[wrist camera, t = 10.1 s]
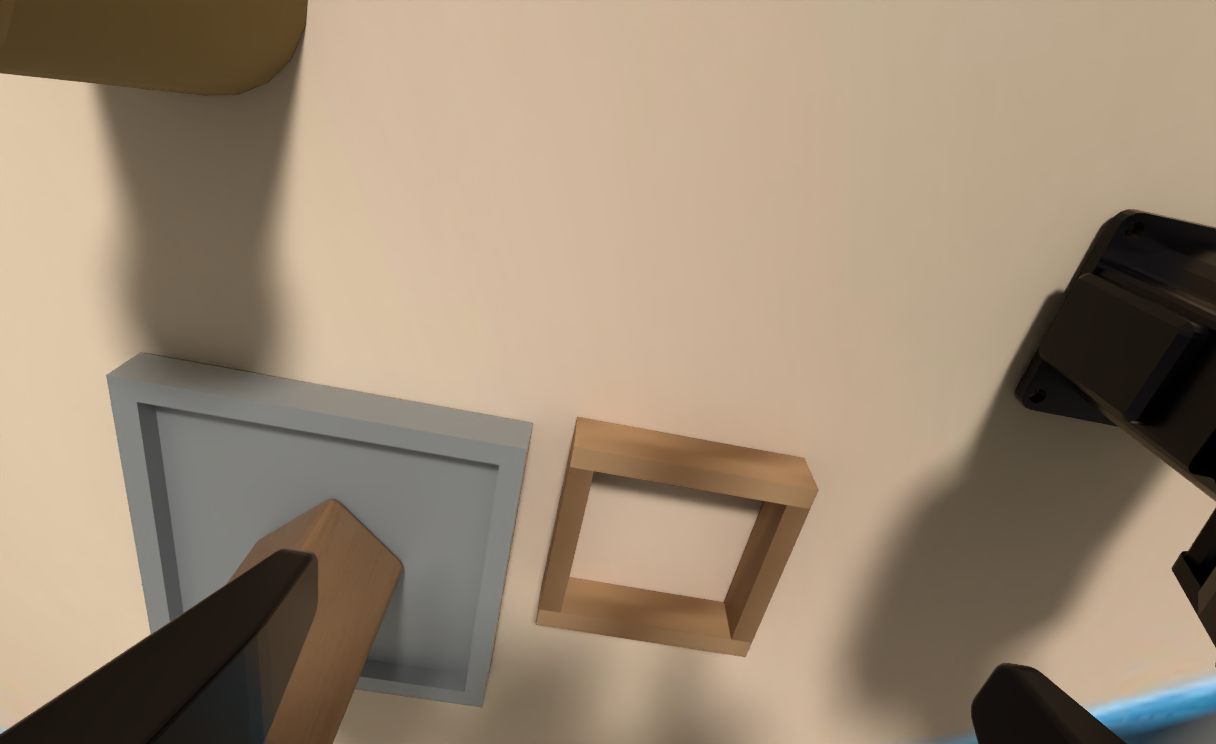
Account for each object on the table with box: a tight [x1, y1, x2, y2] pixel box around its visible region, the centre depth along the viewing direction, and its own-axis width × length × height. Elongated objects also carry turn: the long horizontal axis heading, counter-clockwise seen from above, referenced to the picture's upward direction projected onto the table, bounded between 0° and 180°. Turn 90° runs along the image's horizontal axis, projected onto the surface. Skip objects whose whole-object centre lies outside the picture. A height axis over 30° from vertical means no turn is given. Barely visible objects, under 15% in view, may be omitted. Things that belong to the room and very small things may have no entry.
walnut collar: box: [536, 417, 818, 657], centre depth 23 cm, size 8×8×2 cm
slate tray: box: [106, 353, 533, 707], centre depth 24 cm, size 13×13×2 cm
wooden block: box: [227, 499, 403, 744], centre depth 20 cm, size 4×4×8 cm
